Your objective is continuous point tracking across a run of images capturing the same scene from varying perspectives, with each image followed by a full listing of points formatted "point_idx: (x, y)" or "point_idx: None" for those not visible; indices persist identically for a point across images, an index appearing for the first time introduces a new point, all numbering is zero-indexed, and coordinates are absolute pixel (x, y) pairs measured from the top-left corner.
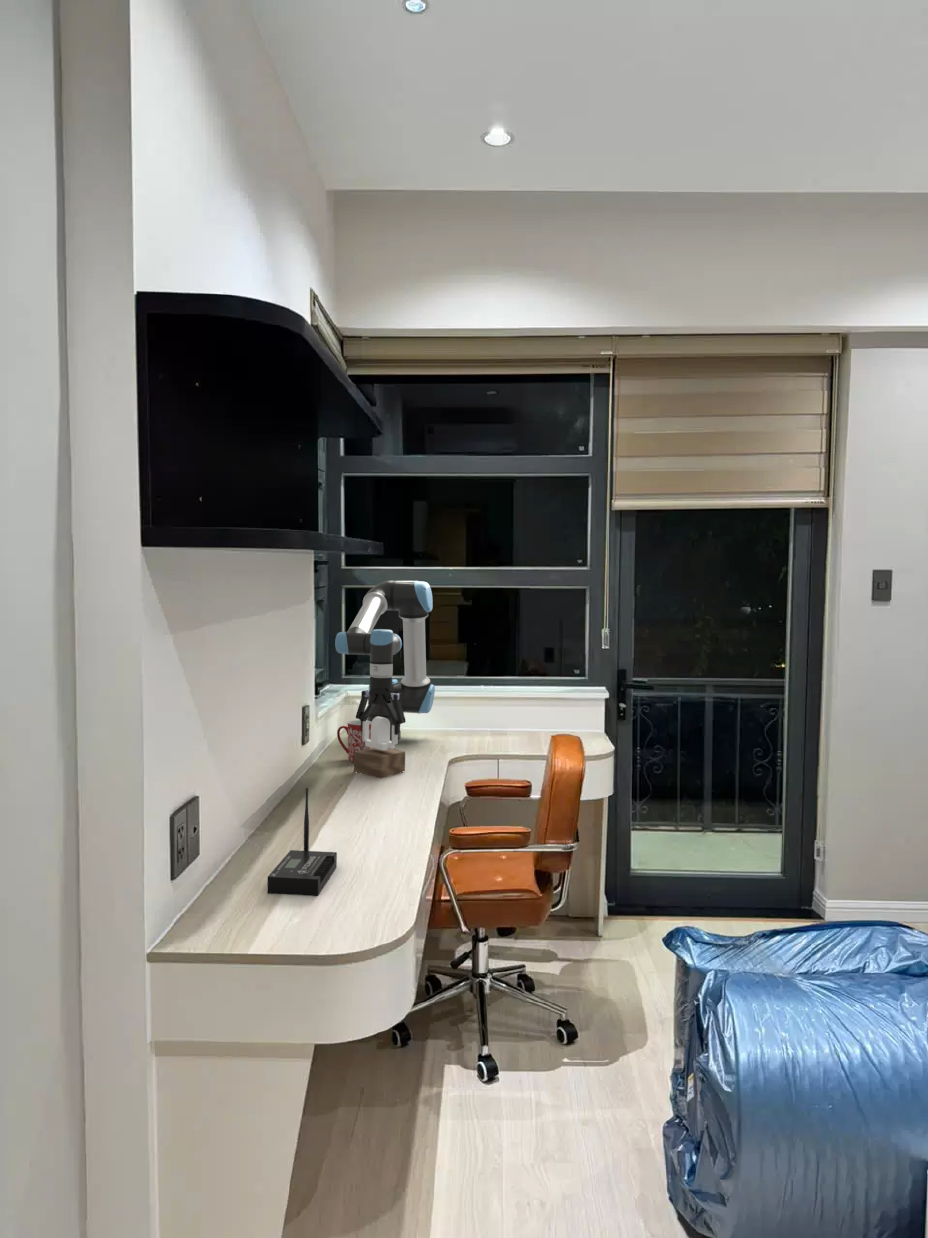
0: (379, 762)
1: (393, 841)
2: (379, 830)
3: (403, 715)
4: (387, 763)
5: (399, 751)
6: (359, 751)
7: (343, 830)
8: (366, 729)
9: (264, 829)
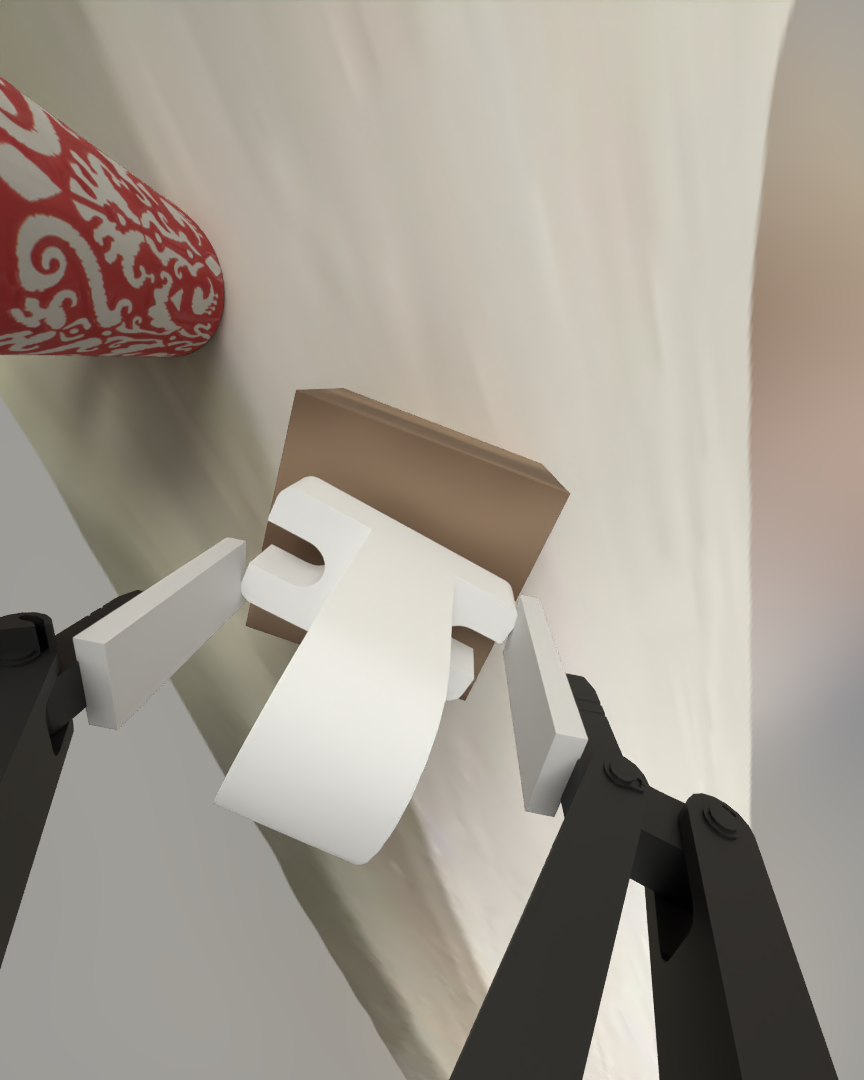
0: None
1: None
2: (633, 1020)
3: (777, 959)
4: None
5: (527, 512)
6: None
7: None
8: (183, 629)
9: (388, 1033)
